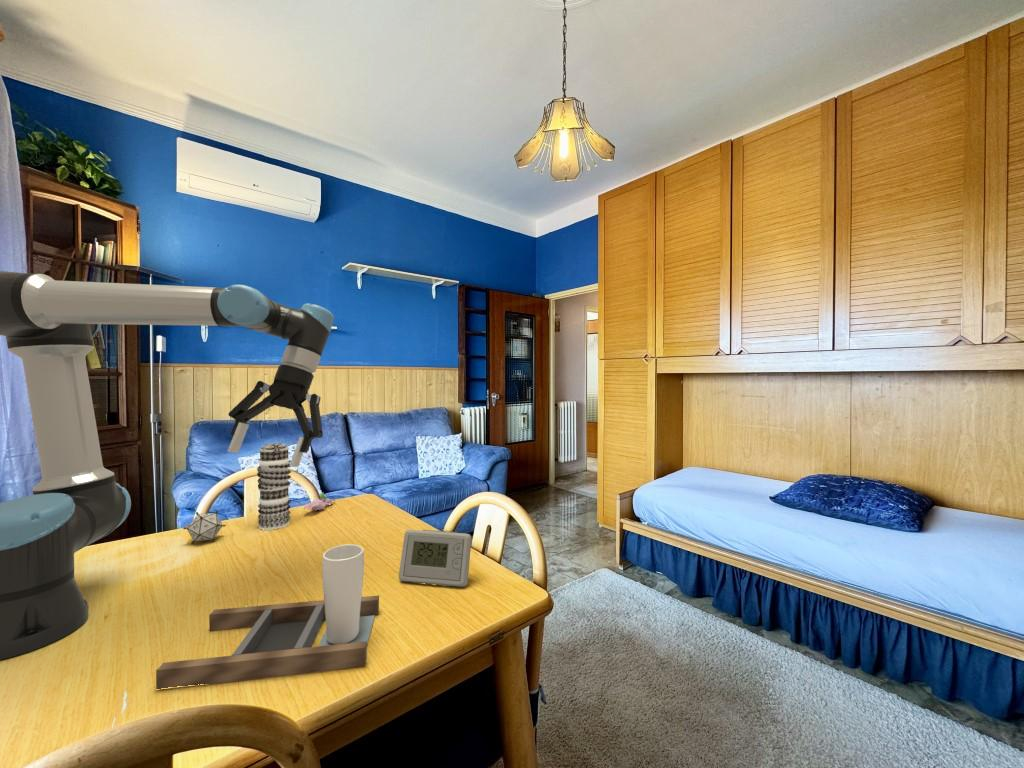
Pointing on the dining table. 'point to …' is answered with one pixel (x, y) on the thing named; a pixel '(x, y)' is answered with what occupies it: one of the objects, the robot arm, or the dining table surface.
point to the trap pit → (281, 634)
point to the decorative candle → (273, 486)
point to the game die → (204, 527)
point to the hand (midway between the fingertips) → (263, 459)
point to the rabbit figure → (319, 503)
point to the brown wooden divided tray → (272, 661)
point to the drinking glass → (342, 591)
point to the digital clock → (435, 557)
